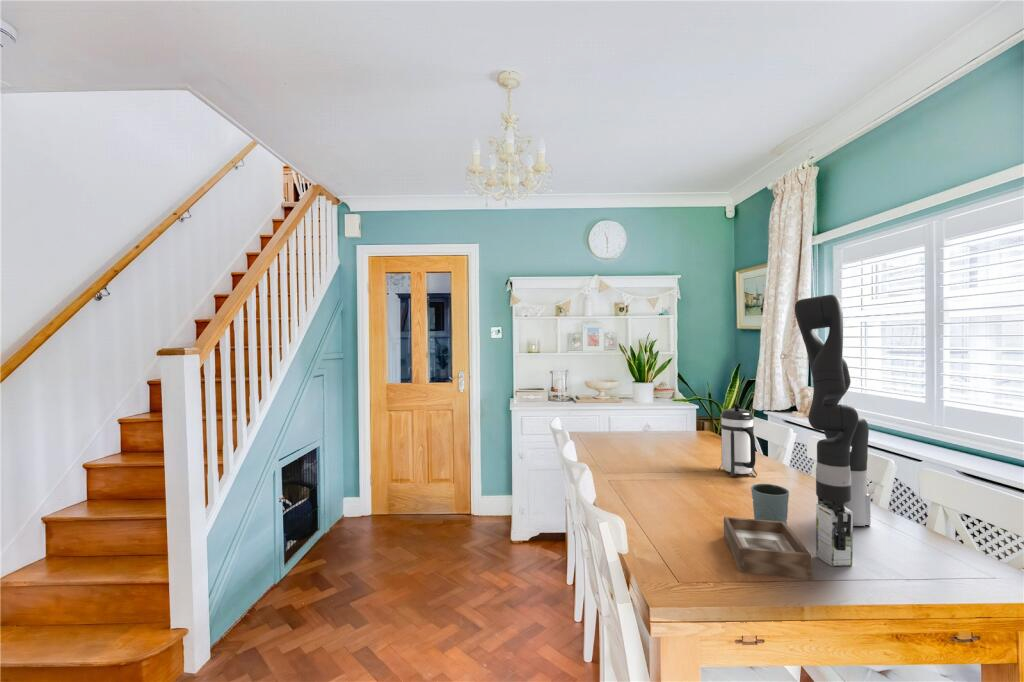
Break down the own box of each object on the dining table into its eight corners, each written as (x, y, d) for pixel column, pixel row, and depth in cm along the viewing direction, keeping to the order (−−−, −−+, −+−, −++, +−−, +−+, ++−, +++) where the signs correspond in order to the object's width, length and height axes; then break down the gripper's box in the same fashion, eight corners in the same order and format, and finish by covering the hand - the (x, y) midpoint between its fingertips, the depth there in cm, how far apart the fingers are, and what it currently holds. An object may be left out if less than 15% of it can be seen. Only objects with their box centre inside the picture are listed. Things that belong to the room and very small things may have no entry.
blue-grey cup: (789, 524, 141) (788, 486, 140) (789, 537, 132) (789, 496, 132) (752, 518, 146) (752, 481, 146) (750, 530, 137) (750, 491, 137)
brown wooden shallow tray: (784, 542, 129) (784, 521, 129) (811, 579, 110) (811, 555, 109) (723, 537, 133) (723, 516, 133) (739, 571, 114) (739, 548, 114)
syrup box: (836, 555, 121) (835, 501, 121) (853, 566, 115) (853, 510, 115) (815, 556, 121) (815, 502, 120) (831, 567, 115) (831, 511, 115)
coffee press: (711, 474, 191) (710, 404, 191) (727, 466, 202) (726, 399, 202) (755, 483, 178) (754, 408, 178) (769, 474, 189) (768, 403, 189)
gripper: (863, 490, 110) (864, 558, 110) (837, 472, 124) (838, 532, 124) (828, 488, 112) (829, 555, 112) (806, 471, 125) (807, 530, 126)
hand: (833, 543), depth 118 cm, fingers closed on syrup box, 6 cm apart
